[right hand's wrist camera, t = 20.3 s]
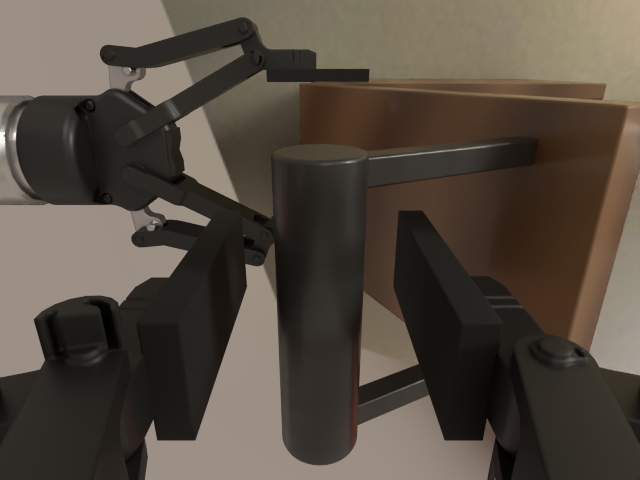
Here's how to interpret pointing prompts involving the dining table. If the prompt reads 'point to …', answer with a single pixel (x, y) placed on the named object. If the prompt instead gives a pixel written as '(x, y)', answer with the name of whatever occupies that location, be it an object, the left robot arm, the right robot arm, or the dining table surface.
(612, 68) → the dining table surface
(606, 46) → the dining table surface
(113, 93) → the left robot arm
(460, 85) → the chest
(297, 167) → the lid
